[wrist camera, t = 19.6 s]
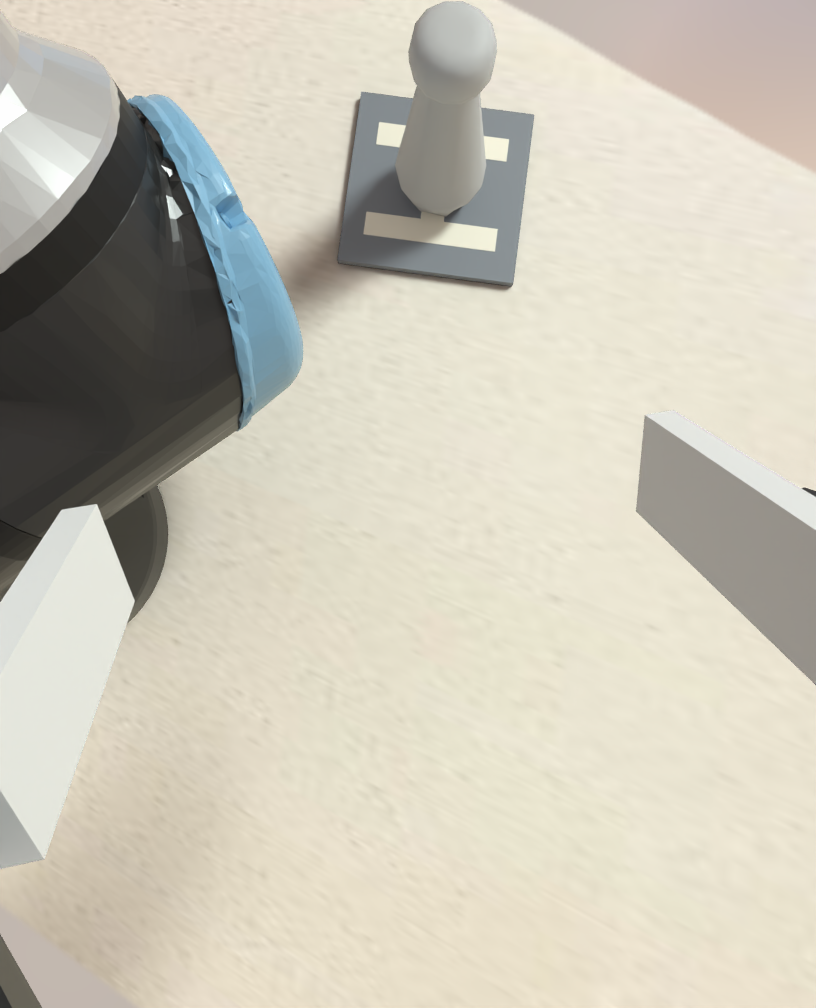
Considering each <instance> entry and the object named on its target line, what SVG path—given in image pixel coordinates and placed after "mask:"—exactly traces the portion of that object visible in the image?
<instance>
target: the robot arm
mask: <svg viewBox="0 0 816 1008" xmlns="http://www.w3.org/2000/svg"><path fill="white" fill-rule="evenodd" d="M302 360H303V341H302V336H301V331H300V328H299V324H298V321H297V318H296V314H295V311H294V309H293V306H292V303H291V301H290V298H289V296H288V293H287V291H286V288H285V286H284V284H283V281H282V279H281V277H280V275H279V272H278V270H277V268H276V266H275V264H274V262H273V259H272V257H271V255H270V253H269V251H268V249H267V247H266V245H265V243H264V241H263V239H262V237H261V236H260V234H259V232H258V230H257V228H256V226H255V224H254V223H253V222H252V221H251V219H250V218H249V217H248V216H247V215H246V214H245V213H244V212H243V207H242V204H241V202H240V200H239V198H238V196H237V194H236V192H235V190H234V188H233V186H232V183H231V181H230V179H229V177H228V175H227V173H226V172H225V170H224V168H223V167H222V165H221V163H220V162H219V160H218V159H217V157H216V155H215V154H214V152H213V151H212V149H211V148H210V146H209V145H208V143H207V142H206V140H205V139H204V137H203V136H202V134H201V133H200V132H199V130H198V129H197V127H196V126H195V125H194V123H193V122H192V121H191V120H190V118H189V117H188V116H187V115H186V114H185V113H184V112H183V111H182V110H181V109H180V107H179V106H178V105H177V104H176V103H175V102H173V101H172V100H171V99H170V98H168V97H165V96H162V95H157V94H154V95H149V96H148V97H143V96H134V97H133V98H132V100H131V98H130V99H129V100H126V98H125V97H124V95H123V94H122V92H121V91H120V89H119V88H118V86H117V85H116V83H115V82H114V80H113V79H112V77H111V76H110V74H109V73H108V72H107V70H106V69H105V67H104V66H103V65H102V64H101V63H100V62H99V61H98V60H97V59H96V58H95V57H93V56H91V55H90V54H88V53H86V52H85V51H82V50H79V49H76V48H73V47H70V46H67V45H63V44H60V43H57V42H54V41H51V40H48V39H45V38H41V37H38V36H35V35H32V34H29V33H26V32H23V31H19V30H18V29H16V28H15V27H14V26H12V24H11V23H10V22H9V20H8V19H7V18H6V16H5V15H4V14H3V12H2V11H1V10H0V869H2V868H7V867H11V866H16V865H21V864H25V863H30V862H34V861H39V860H44V859H45V856H46V853H47V850H48V847H49V844H50V842H51V839H52V836H53V833H54V830H55V827H56V825H57V822H58V819H59V816H60V813H61V810H62V807H63V805H64V802H65V799H66V796H67V793H68V790H69V787H70V785H71V782H72V779H73V776H74V773H75V770H76V767H77V765H78V762H79V759H80V756H81V753H82V750H83V747H84V745H85V742H86V739H87V736H88V733H89V730H90V728H91V725H92V722H93V719H94V716H95V713H96V710H97V708H98V705H99V702H100V699H101V696H102V693H103V690H104V688H105V685H106V682H107V679H108V676H109V673H110V670H111V668H112V665H113V662H114V659H115V656H116V653H117V651H118V648H119V645H120V642H121V639H122V636H123V633H124V631H125V628H126V625H127V623H128V622H129V621H130V620H131V619H132V618H133V617H134V616H135V615H136V614H137V613H138V612H139V610H140V609H141V608H142V607H143V606H144V604H145V603H146V601H147V600H148V599H149V597H150V595H151V594H152V592H153V590H154V588H155V586H156V584H157V582H158V580H159V578H160V575H161V572H162V569H163V566H164V562H165V557H166V552H167V544H168V525H167V517H166V511H165V507H164V503H163V500H162V497H161V494H160V492H159V489H158V487H157V484H159V483H160V482H162V481H163V480H165V479H166V478H168V477H169V476H171V475H172V474H173V473H175V472H176V471H178V470H179V469H181V468H182V467H184V466H185V465H187V464H188V463H190V462H191V461H193V460H194V459H195V458H197V457H198V456H200V455H201V454H203V453H204V452H206V451H207V450H209V449H210V448H212V447H213V446H214V445H216V444H217V443H219V442H220V441H222V440H223V439H225V438H226V437H228V436H229V435H231V434H232V433H233V432H235V431H239V430H241V429H242V428H243V427H245V426H246V425H247V424H248V423H249V421H250V420H251V417H252V416H253V415H254V414H255V413H257V412H258V411H259V410H260V409H262V408H263V407H264V406H265V405H267V404H268V403H269V402H270V401H272V400H273V399H274V398H275V397H276V396H278V395H279V394H280V393H281V392H283V391H284V390H285V389H286V388H288V387H289V386H290V385H291V384H292V382H293V381H294V380H295V378H296V377H297V374H298V373H299V371H300V368H301V365H302ZM636 512H637V513H638V514H639V515H640V516H641V517H643V518H644V519H645V520H646V521H647V522H648V523H649V524H650V525H651V526H652V527H653V528H654V529H655V530H656V531H657V532H658V533H659V534H660V535H661V536H662V537H663V538H664V539H665V540H666V541H667V542H668V543H669V544H670V545H671V546H672V547H674V548H675V549H676V550H677V551H678V552H679V553H680V554H681V555H682V556H683V557H684V558H685V559H686V560H687V561H688V562H689V563H690V564H691V565H692V566H693V567H694V568H695V569H696V570H697V571H698V572H699V573H700V574H701V575H702V576H703V577H705V578H706V579H707V580H708V581H709V582H710V583H711V584H712V585H713V586H714V587H715V588H716V589H717V590H718V591H719V592H720V593H721V594H722V595H723V596H724V597H725V598H726V599H727V600H728V601H729V602H730V603H731V604H732V605H733V606H734V607H736V608H737V609H738V610H739V611H740V612H741V613H742V614H743V615H744V616H745V617H746V618H747V619H748V620H749V621H750V622H751V623H752V624H753V625H754V626H755V627H756V628H757V629H758V630H759V631H760V632H761V633H762V634H763V635H764V636H765V637H767V638H768V639H769V640H770V641H771V642H772V643H773V644H774V645H775V646H776V647H777V648H778V649H779V650H780V651H781V652H782V653H783V654H784V655H785V656H786V657H787V658H788V659H789V660H790V661H791V662H792V663H793V664H794V665H795V666H797V667H798V668H799V669H800V670H801V671H802V672H803V673H804V674H805V675H806V676H807V677H808V678H809V679H810V680H811V681H812V682H813V683H814V684H815V685H816V491H813V490H810V489H808V488H800V487H798V486H797V485H795V484H794V483H792V482H790V481H789V480H787V479H785V478H784V477H782V476H780V475H779V474H777V473H776V472H774V471H772V470H771V469H769V468H767V467H766V466H764V465H763V464H761V463H759V462H758V461H756V460H754V459H753V458H751V457H749V456H748V455H746V454H745V453H743V452H741V451H740V450H738V449H736V448H735V447H733V446H732V445H730V444H728V443H727V442H725V441H723V440H722V439H720V438H719V437H717V436H715V435H714V434H712V433H710V432H709V431H707V430H705V429H704V428H702V427H701V426H699V425H697V424H696V423H694V422H692V421H691V420H689V419H688V418H686V417H684V416H683V415H681V414H679V413H678V412H676V411H674V410H672V411H666V412H659V413H653V414H647V415H645V419H644V430H643V441H642V452H641V463H640V474H639V485H638V496H637V507H636ZM0 1008H42V1007H41V1005H40V1003H39V1002H38V1000H37V998H36V996H35V995H34V993H33V991H32V989H31V988H30V986H29V984H28V982H27V980H26V979H25V977H24V975H23V973H22V972H21V970H20V968H19V966H18V965H17V963H16V961H15V959H14V958H13V956H12V954H11V952H10V951H9V949H8V947H7V945H6V944H5V942H4V940H3V938H2V937H1V935H0Z"/></svg>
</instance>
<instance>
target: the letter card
mask: <svg viewBox="0 0 816 1008" xmlns="http://www.w3.org/2000/svg"><path fill="white" fill-rule="evenodd" d="M412 102H413V98H405V97H398V96H391V95H383V94H376V93H368V92H361V99H360V106H359V112H358V119H357V126H356V133H355V140H354V147H353V154H352V161H351V168H350V175H349V182H348V189H347V196H346V203H345V210H344V217H343V224H342V231H341V238H340V245H339V251H338V258H337V261H338V263H341V264H349V265H356V266H364V267H371V268H378V269H386V270H393V271H401V272H408V273H416V274H423V275H431V276H438V277H446V278H453V279H461V280H468V281H476V282H483V283H491V284H498V285H506V286H512V285H513V281H514V273H515V265H516V257H517V249H518V241H519V233H520V225H521V217H522V209H523V201H524V193H525V185H526V177H527V169H528V161H529V153H530V145H531V137H532V129H533V121H534V115H533V114H525V113H518V112H510V111H503V110H495V109H488V108H481V111H482V122H483V134H484V145H485V156H486V169H485V174H484V179H483V183H482V186H481V188H480V189H479V191H478V192H477V193H476V194H475V196H474V197H473V198H472V199H471V201H470V202H469V203H468V204H466V205H464V206H462V207H460V208H458V209H456V210H454V211H452V212H451V213H450V214H449V215H447V216H446V217H445V216H441V215H436V214H432V213H427V212H422V211H419V209H418V208H417V207H416V206H415V205H414V204H413V203H412V202H411V200H410V199H409V198H408V197H407V196H406V194H405V193H404V192H403V191H402V189H401V186H400V183H399V179H398V175H397V171H396V167H395V163H396V159H397V155H398V151H399V147H400V144H401V141H402V137H403V134H404V131H405V127H406V123H407V120H408V116H409V112H410V109H411V105H412Z"/></svg>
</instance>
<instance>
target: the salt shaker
mask: <svg viewBox="0 0 816 1008" xmlns="http://www.w3.org/2000/svg"><path fill="white" fill-rule="evenodd" d="M496 53H497V43H496V37H495V33H494V29H493V25H492V23H491V21H490V20H489V19H488V18H487V17H486V16H485V15H484V14H483V12H482V11H481V10H480V9H478V8H476V7H474V6H472V5H469V4H467V3H465V2H463V1H457V2H442V3H440V4H437V5H435V6H433V7H431V8H429V9H427V10H426V11H425V12H424V13H423V15H422V16H421V17H420V18H419V20H418V21H417V22H416V23H415V27H414V31H413V35H412V39H411V43H410V48H409V63H410V67H411V71H412V75H413V78H414V81H415V83H416V85H417V87H416V91H415V94H414V98H413V102H412V105H411V109H410V112H409V116H408V120H407V123H406V127H405V131H404V134H403V137H402V141H401V144H400V147H399V151H398V155H397V159H396V163H395V167H396V171H397V175H398V179H399V183H400V186H401V189H402V191H403V192H404V193H405V194H406V196H407V197H408V198H409V199H410V200H411V202H412V203H413V204H414V205H415V206H416V207H417V208H418V209H419V211H422V212H427V213H432V214H436V215H441V216H445V217H446V216H447V215H449V214H450V213H451V212H452V211H454V210H456V209H458V208H460V207H462V206H464V205H466V204H468V203H469V202H470V201H471V199H472V198H473V197H474V196H475V194H476V193H477V192H478V191H479V189H480V188H481V186H482V183H483V179H484V174H485V169H486V156H485V145H484V134H483V122H482V111H481V100H480V92H481V91H482V90H483V88H484V87H485V86H486V85H487V84H488V82H489V81H490V79H491V75H492V72H493V67H494V62H495V58H496Z"/></svg>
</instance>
